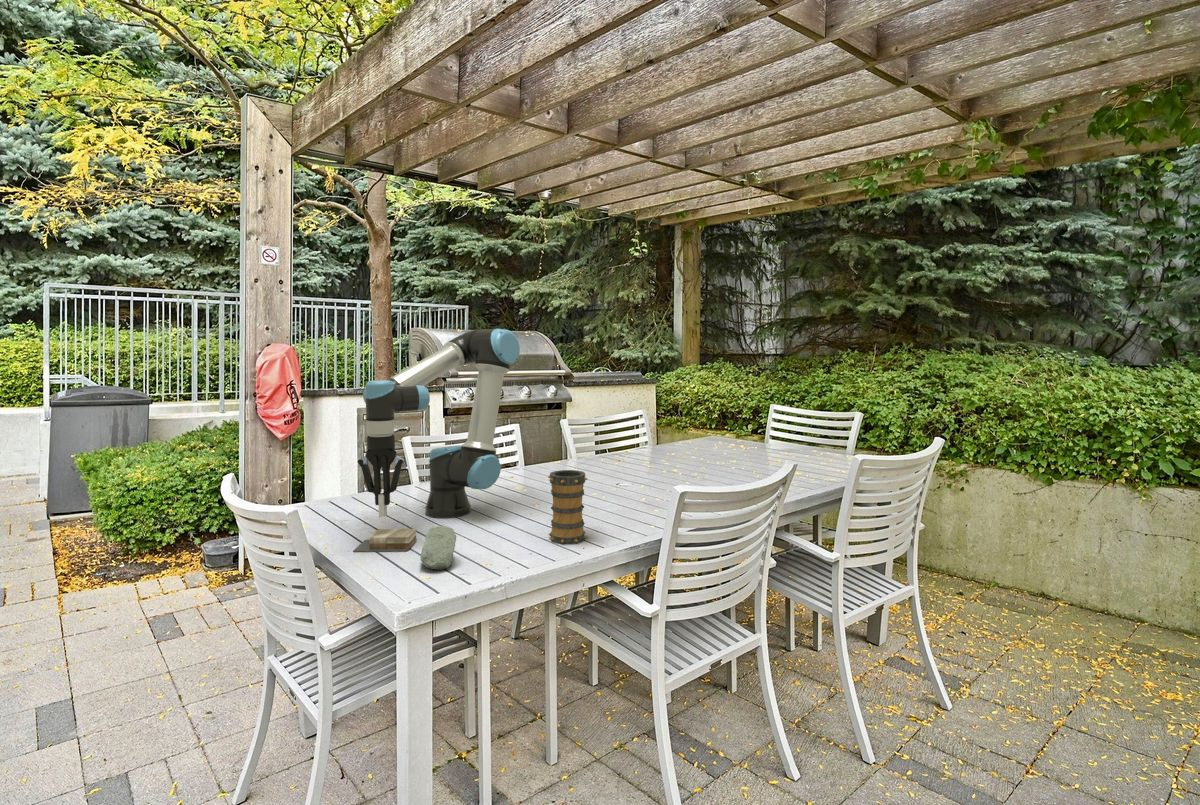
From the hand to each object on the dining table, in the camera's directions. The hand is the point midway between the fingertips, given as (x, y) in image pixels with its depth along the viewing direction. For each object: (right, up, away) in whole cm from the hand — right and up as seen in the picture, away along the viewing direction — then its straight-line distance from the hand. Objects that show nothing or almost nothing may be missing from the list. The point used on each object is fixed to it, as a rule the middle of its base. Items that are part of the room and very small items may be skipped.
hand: (383, 516), depth 180 cm
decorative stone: (+20, -11, -14) cm, 26 cm away
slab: (-3, -7, 0) cm, 7 cm away
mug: (+53, -8, +10) cm, 55 cm away
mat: (0, -9, +1) cm, 9 cm away
